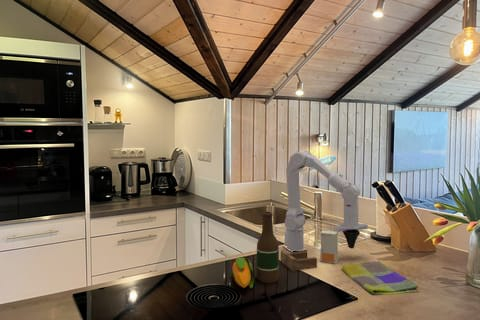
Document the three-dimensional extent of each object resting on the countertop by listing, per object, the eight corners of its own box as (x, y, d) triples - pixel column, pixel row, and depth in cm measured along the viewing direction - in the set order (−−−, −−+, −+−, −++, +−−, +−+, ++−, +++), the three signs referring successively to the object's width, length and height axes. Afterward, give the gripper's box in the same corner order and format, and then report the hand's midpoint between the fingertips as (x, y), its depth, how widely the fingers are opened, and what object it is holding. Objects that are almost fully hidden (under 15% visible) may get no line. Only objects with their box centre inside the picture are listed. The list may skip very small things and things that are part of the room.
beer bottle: (283, 278, 130) (282, 211, 128) (269, 285, 124) (269, 215, 123) (266, 273, 135) (265, 209, 134) (252, 279, 129) (251, 212, 128)
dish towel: (369, 297, 115) (369, 288, 115) (339, 269, 139) (339, 262, 139) (421, 293, 117) (421, 285, 117) (382, 267, 141) (383, 260, 141)
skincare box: (320, 261, 147) (320, 232, 146) (323, 258, 151) (323, 229, 150) (335, 264, 144) (335, 234, 143) (338, 260, 148) (337, 231, 147)
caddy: (280, 261, 148) (280, 250, 148) (304, 258, 151) (304, 247, 151) (293, 271, 137) (293, 259, 136) (318, 268, 139) (318, 256, 139)
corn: (250, 252, 136) (256, 271, 116) (251, 272, 137) (258, 294, 117) (230, 254, 136) (233, 273, 116) (232, 274, 136) (235, 297, 116)
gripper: (340, 218, 143) (340, 252, 144) (372, 215, 147) (372, 248, 148) (331, 214, 150) (331, 247, 151) (361, 212, 154) (361, 243, 155)
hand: (351, 247), depth 150 cm, fingers closed
